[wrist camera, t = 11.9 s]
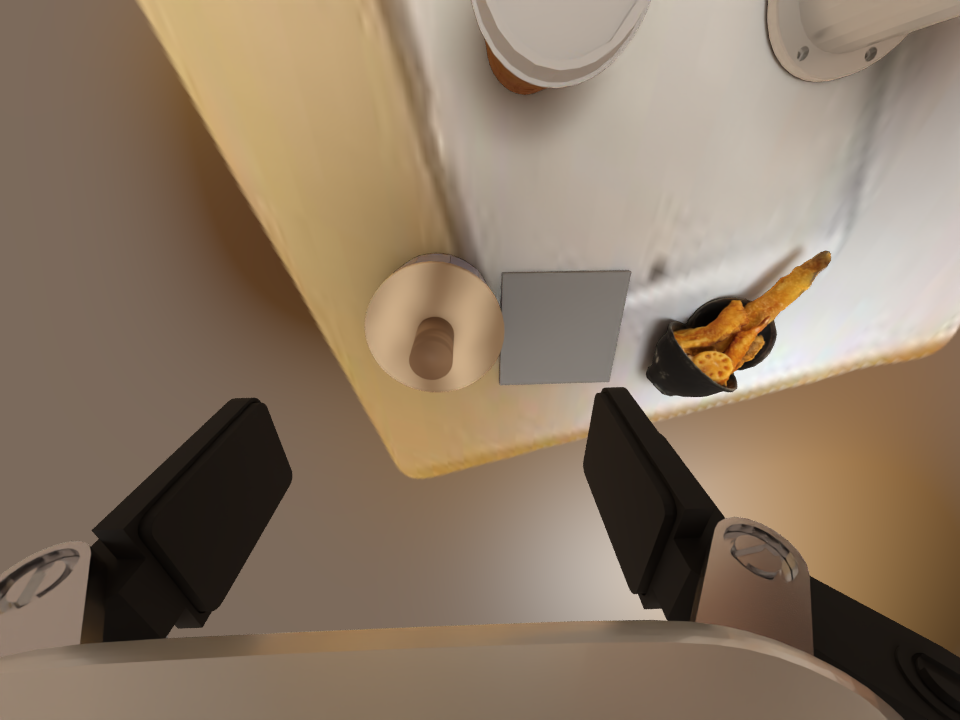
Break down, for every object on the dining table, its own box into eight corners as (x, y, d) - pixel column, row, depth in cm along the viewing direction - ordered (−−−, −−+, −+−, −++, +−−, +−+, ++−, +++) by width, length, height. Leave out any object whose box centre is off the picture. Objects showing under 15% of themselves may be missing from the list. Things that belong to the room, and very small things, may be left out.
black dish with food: (622, 378, 35) (817, 235, 24) (633, 334, 44) (781, 213, 32) (691, 436, 35) (922, 321, 23) (688, 381, 43) (858, 276, 32)
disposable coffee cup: (495, 141, 29) (515, 118, 18) (443, 0, 25) (429, -134, 14) (603, 82, 27) (692, 20, 17) (566, -79, 23) (654, -296, 13)
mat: (628, 270, 35) (631, 271, 34) (607, 379, 41) (609, 381, 40) (502, 272, 34) (502, 274, 34) (499, 382, 40) (499, 385, 40)
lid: (505, 259, 28) (515, 278, 22) (501, 384, 33) (509, 423, 28) (356, 262, 27) (330, 282, 22) (378, 388, 33) (362, 428, 28)
